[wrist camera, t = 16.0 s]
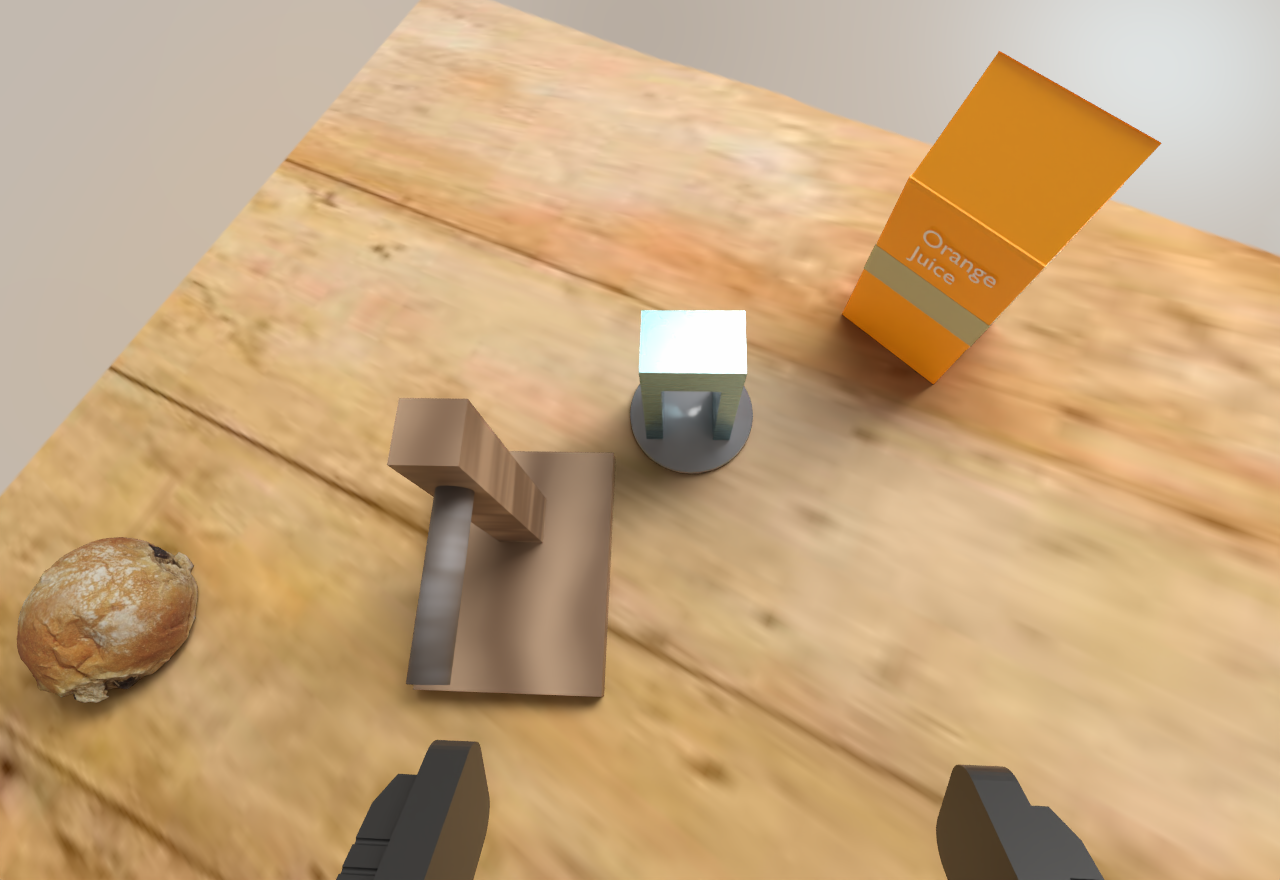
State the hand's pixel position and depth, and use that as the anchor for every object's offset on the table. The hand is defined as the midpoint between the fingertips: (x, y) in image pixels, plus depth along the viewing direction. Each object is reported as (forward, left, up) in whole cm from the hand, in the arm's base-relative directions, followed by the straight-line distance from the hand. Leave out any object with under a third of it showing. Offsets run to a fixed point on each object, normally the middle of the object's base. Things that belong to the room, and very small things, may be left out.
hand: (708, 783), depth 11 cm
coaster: (-1, -19, -31) cm, 36 cm away
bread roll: (+38, -3, -31) cm, 49 cm away
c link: (0, -19, -30) cm, 36 cm away
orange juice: (-18, -28, -31) cm, 45 cm away
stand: (+11, -8, -31) cm, 33 cm away
